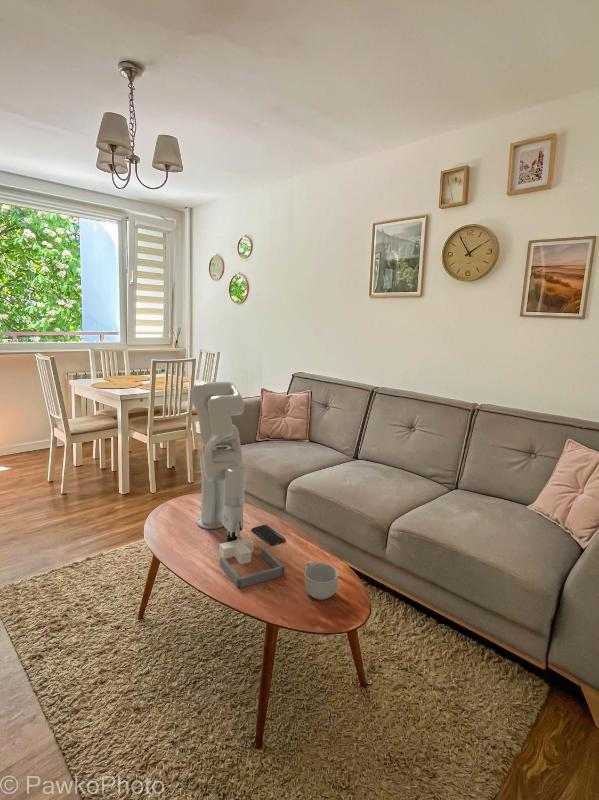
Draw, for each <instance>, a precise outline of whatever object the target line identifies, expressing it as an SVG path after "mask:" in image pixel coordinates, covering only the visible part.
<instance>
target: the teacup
mask: <svg viewBox="0 0 599 800" xmlns="http://www.w3.org/2000/svg"><path fill="white" fill-rule="evenodd" d="M338 577H339V572H338V569H337V568H336V567H334V565H331V564H329V563H324V562H318V563H317V562H314V561H313V560H308V561H307V562H306V567H305V569H304V588H305V592H306V593H307V595H309V596H310V597H312V598H314V599H316V600H320V601H321V600H322V601H323V600H327V599H328V598H331V597H333V596H334V595H335V594H336V592H337V588H338Z"/></svg>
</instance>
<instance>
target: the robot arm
mask: <svg viewBox="0 0 599 800" xmlns="http://www.w3.org/2000/svg"><path fill="white" fill-rule="evenodd" d="M191 399H192V403H193V406H194V409H195V411H196V413H197V416H198V422H199V423H198V424H199V425H198V426H199V433H200V434H199V435H200V440H201V443H202V446H203V447H204V450H203V453H202V454H201V455H200V458H199V464H200V471H201V473H200V474H201V496H200V497H201V500H200V503H201V505H200V506H201V507H200V516H199V517H198V518H197V520H196V524H197V526H199V527H200V528H203V529H206V530H214V529H220V528H223V527H224V528H225V529H226V533H227V537H226V538H227V539H226V542H231V541H235V540H238V537H240V536H241V532H242V531H243V528H244V507H243V506H244V504H245V485H246V484H245V483H246V470H245V468H243V462H244V461H243V460H244V459H243V453H242V452H243V451H242V444H241V439H240V432H239V430H238V427H237V425H235V424H233V420H232V416H241V415H242V414H243V413H244V410H245V403H244V400H243V397H242V395H241V393H240V391H239V390H238V389H237V387H236V386H235V384H234V383H233V382H230V381H229V382H228V381H203V382H198V383H196V384H194V385H193V387H192V389H191ZM219 447H227V448H224V449H223V448H222V449H214V448H219Z"/></svg>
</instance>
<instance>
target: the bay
mask: <svg viewBox="0 0 599 800" xmlns="http://www.w3.org/2000/svg"><path fill="white" fill-rule="evenodd" d="M260 556H261V557H262V558H263V559H264V560H265V561H266V562H267V563H268V564H269V565H270V566H271V568H268V569H266V570H261V571H257V572H254V573H251V574H247V575H244V576H240V575H239V574H238V572H236V570H235V569H234V568H233V567H232V566H231V564H230V563H229V562H228V560H227V559H225V558H224V557H221V556H220V558H219V567H221V569H222V570H223V571H224V572H225V574H226V575H227V576H228V578H229V579H230V581H233V582H232V583H233V584H234V585H235V587H236V586H237V587H236V589H242V588H245V587H248V585H249V586H252V585H255V584H258V583H262V582H265V580H266V581H269V580H272V579H275V578H279V577H282V576H285V569H286V567H285V565H283V564H282V563H281V562H280V561H279V559H277V557H275V556H274V555H273V554H272V553H271V552H270V551H269V550H268V549H267V548H266V547H265V546H261V547H260ZM241 587H242V588H241Z"/></svg>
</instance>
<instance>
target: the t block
mask: <svg viewBox="0 0 599 800" xmlns="http://www.w3.org/2000/svg"><path fill="white" fill-rule="evenodd" d="M254 545H255V543H254V540H253V539H252V538H250V537H249V536H248V537H244V538H239V539H237V540H235V541H231V542H227V541H226V542H222V543H219V546H218V547H219V551H218V552H219V553H218V555H219V556H220V557H224V558H225V559H226V560H227V559H230V558H234V557H235V558H234V559H235V560H236V561H237V562H238V564H239V565H241V566H242V565H245V564H249V563H252V554H253V552H254Z"/></svg>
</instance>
